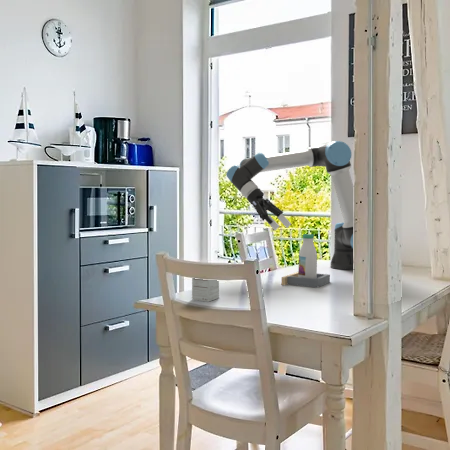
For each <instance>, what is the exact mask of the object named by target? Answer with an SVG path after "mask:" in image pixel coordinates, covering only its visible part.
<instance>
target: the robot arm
mask: <svg viewBox="0 0 450 450" xmlns="http://www.w3.org/2000/svg"><path fill="white" fill-rule="evenodd" d="M351 159H352V150H351V147H350V146H349V144H347V143H346V142H343V141H341V140H333V141H330V142H324V143H321V144H319V145H314V146H311V147H307V148H306V149H304V150H297V151H290V152H283V153H282V152H281V153H277V154H275V153H274V154H269V155H265V154H264V153H262V152H257V154H254V155H253V156H252V157H249V158H248V157H247V158H243V159H242V160H241V161H240V162H239V164H234V165H233V166H231V167H229V168H228V170H227V172H226V177H227V179H228V180H229V181H230V183H232V185H233V186H234V187H235V188H236V189H237V190H238V191H239V192H240V194H241V196H243V198H245V199H246V200H247V201H248V202H249V203H250V204H251V205H252V206H253V207H254V209H255V211H256V212H257V213H256V214H257V215H258V216H259V218H260V219H261V220H262V221H266V223H268V225H269V226H270V227H271V228H272V229H273V231H276V230H277V229H278V228H279V227H280V225H279V224H278V223H277V222H276V221H275V219H273V217H272V216H271V215H269V213H268V212H270V213H271V214H273V215H275V216H276V217H277V219H278V220H279V221H280V222H281V224H283V226H284V227H285V228H286V229H288V228H289V227H290V226H292V223H291V222H290V221H289V219H288V218H287V217H286V216H285V215H284V214H283V213H284V211H283V210H281V209H280V208H279V207H277V206H276V205H275V204H274V203H273V202H272V201H270V200H269V199H268V198H264V196H265V193H264V191H262V190H261V188H259V186H258V185H257V184H256V183H255V182H254V181H253V180H252V179H253V178H254V177H256V176H257V175H258V174H259V173H263V172H264V173H265V172H269V171H278V170H279V171H280V170H284V169H291V168H296V167H297V168H299V167H305V166H308V167H309V168H313V167H325V170H326V173H327V174H328V175H331V179H332V182H333V186H334V189H335V193H336V197H337V200H338V204H339V208H340V210H341V214H342V217H343V222H337V223H335V225H334V242H333V243H334V245H333V246H334V249H333V250H334V252H333V254H332V257H331V260H330V265H329V266H330V268H332V269H336V270H354V269H353V187H354V184H353V181H352V180H353V179H352V177H351V172H350V168H351V167H352V164H351Z"/></svg>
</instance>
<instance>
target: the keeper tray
mask: <svg viewBox="0 0 450 450" xmlns="http://www.w3.org/2000/svg"><path fill="white" fill-rule="evenodd" d="M330 281H331V274H327V273H318V272H317V278H316V279H315V278H304V277H298V271H297V272H293V273H290V274H287V275H284V276H281V284H280V285H282V286H286V285H290V286H300V287H310V288H319V287H322V286H324V285H327V284H328V283H330Z"/></svg>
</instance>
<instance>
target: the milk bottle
mask: <svg viewBox="0 0 450 450" xmlns="http://www.w3.org/2000/svg"><path fill="white" fill-rule="evenodd" d="M314 236H315V234H313V233H312V234H310V233H306V234H305V233H304V234H302V240H303V241H302V244H301V248H300V249H299V252H298V271H297V272H298V277H304V278H315V279H316V278H317V273H318V253H317V249H316V247H315V244H314V239H315V237H314Z"/></svg>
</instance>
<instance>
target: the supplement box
mask: <svg viewBox="0 0 450 450" xmlns="http://www.w3.org/2000/svg"><path fill="white" fill-rule="evenodd" d="M219 287H220V280H219V281H217V280H203V279H195V278H192V277H191V296H192V297H191V299H192V300H194V301H198V302H199V301H200V302H207V303H208V302H211V301H215V300H218V299H220V288H219Z"/></svg>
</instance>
